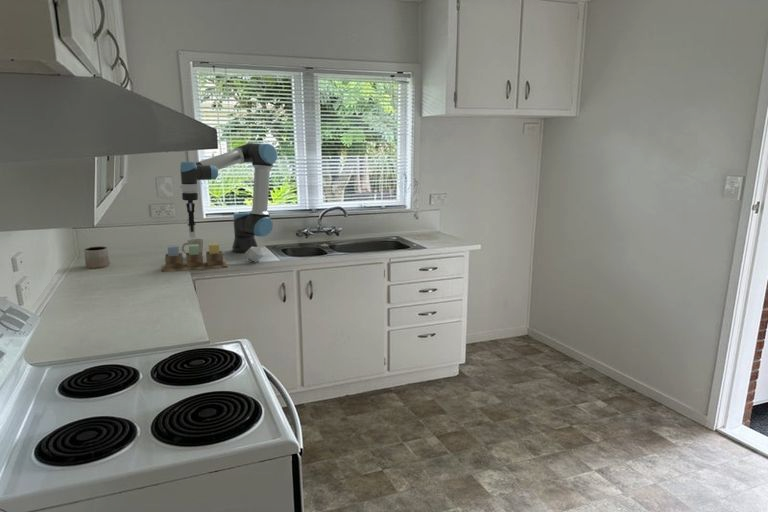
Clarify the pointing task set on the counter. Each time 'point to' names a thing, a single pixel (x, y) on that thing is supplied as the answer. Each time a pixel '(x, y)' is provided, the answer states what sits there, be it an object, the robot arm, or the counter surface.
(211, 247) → the button ochre
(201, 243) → the mug
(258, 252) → the die
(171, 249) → the button slate
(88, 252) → the planter
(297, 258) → the counter surface
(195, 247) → the button sage
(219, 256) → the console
